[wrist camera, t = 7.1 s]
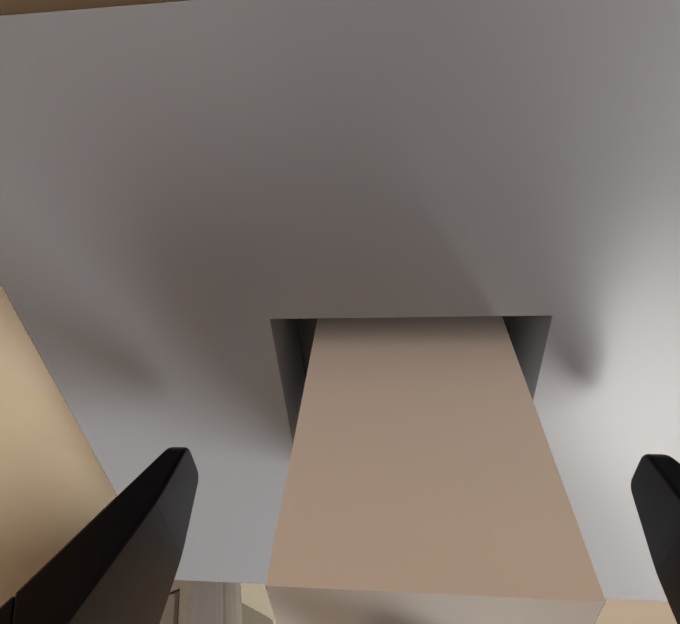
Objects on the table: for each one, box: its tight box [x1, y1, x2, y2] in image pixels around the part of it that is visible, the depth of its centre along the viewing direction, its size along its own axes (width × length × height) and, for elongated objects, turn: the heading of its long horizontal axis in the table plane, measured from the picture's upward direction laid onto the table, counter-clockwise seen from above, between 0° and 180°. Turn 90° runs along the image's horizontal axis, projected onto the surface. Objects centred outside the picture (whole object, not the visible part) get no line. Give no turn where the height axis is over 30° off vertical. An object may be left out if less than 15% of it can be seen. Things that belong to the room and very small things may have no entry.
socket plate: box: [0, 0, 680, 602], centre depth 12 cm, size 16×16×2 cm
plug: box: [266, 316, 606, 624], centre depth 9 cm, size 4×4×9 cm
